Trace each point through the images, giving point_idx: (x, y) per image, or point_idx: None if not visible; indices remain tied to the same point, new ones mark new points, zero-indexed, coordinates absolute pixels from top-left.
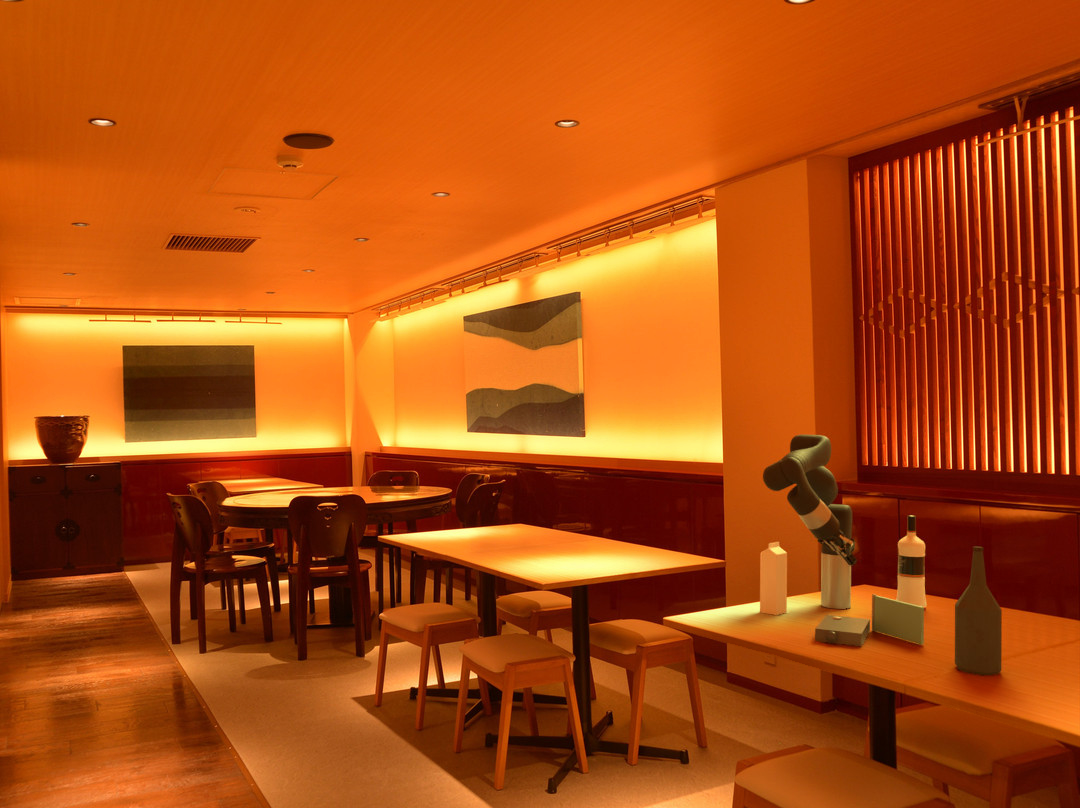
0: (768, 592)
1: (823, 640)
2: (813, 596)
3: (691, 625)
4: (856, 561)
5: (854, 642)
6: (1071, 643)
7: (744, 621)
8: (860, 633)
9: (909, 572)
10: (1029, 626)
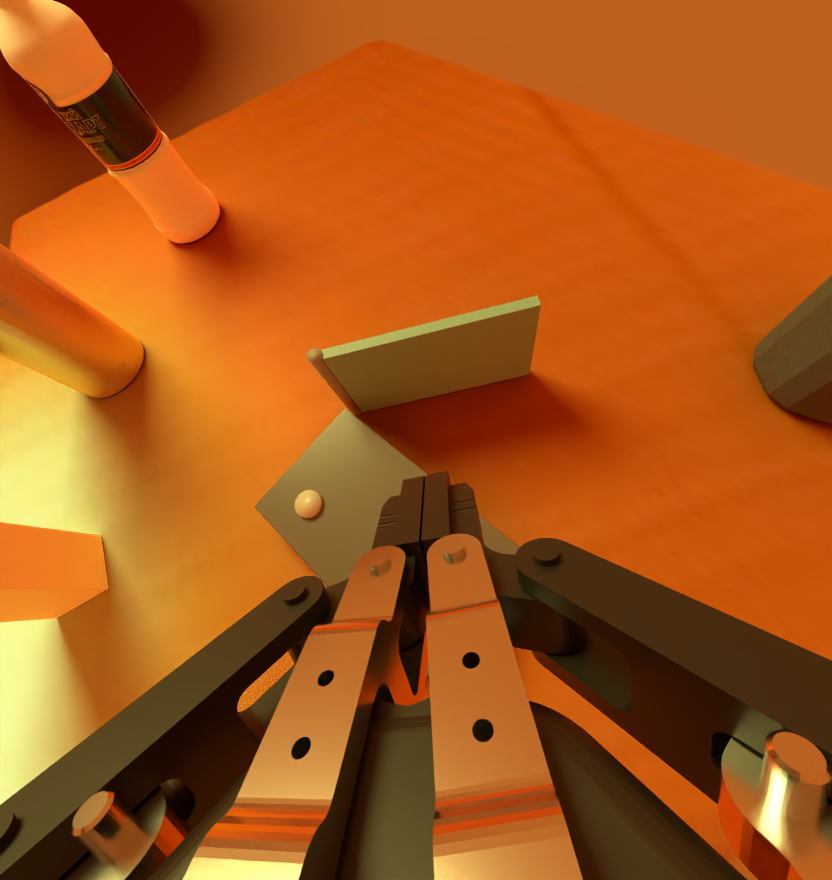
0: (5, 606)
1: None
2: (15, 365)
3: None
4: (449, 479)
5: None
6: (542, 93)
7: None
8: None
9: (136, 145)
10: (400, 103)
